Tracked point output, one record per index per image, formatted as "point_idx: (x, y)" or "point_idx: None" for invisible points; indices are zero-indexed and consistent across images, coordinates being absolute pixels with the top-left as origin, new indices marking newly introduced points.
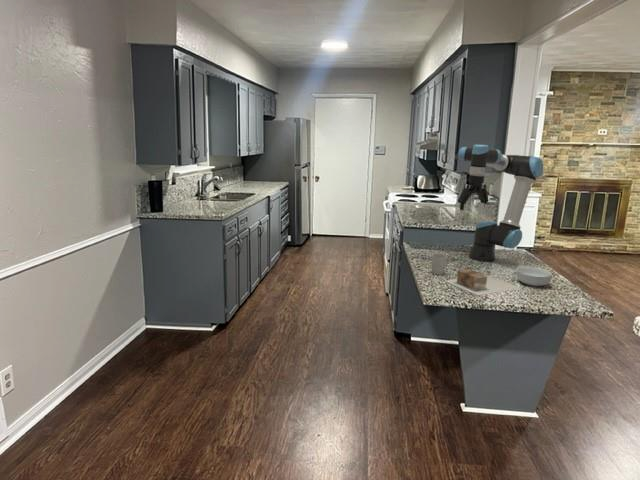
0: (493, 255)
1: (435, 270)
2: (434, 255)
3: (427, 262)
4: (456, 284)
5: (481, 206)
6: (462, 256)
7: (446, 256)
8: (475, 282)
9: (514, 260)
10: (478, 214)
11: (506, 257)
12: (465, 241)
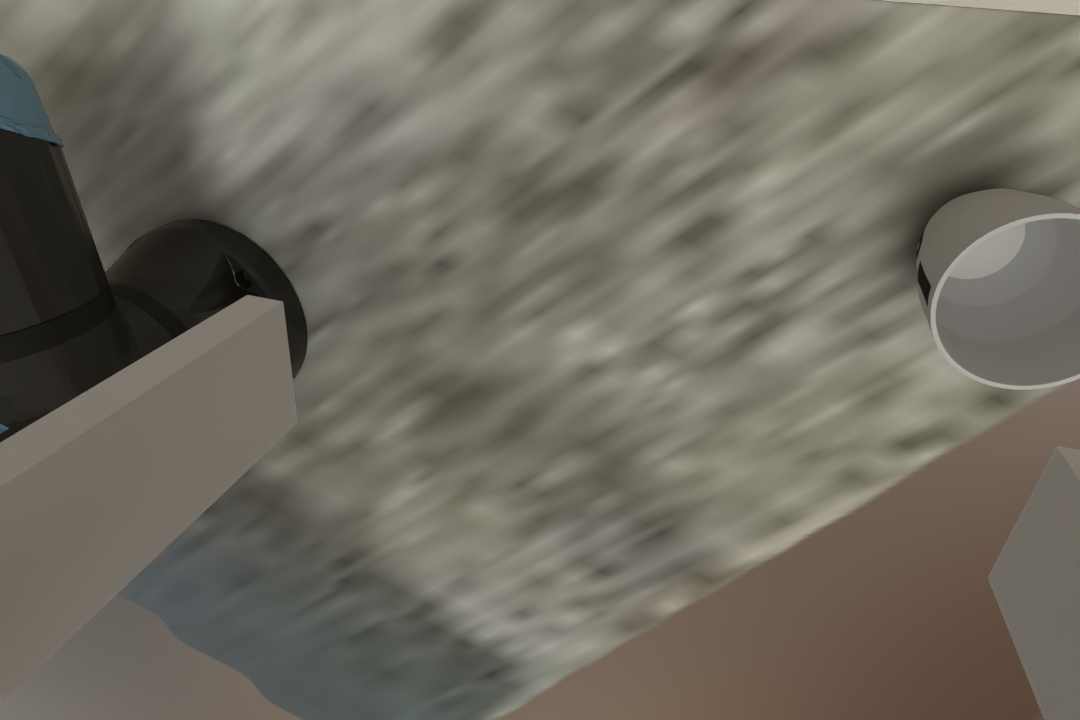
0: (152, 238)
1: (1061, 237)
2: (996, 373)
3: (727, 464)
4: None
5: (88, 501)
6: (331, 409)
7: (957, 259)
8: None
9: None
10: (291, 404)
11: None
12: None
